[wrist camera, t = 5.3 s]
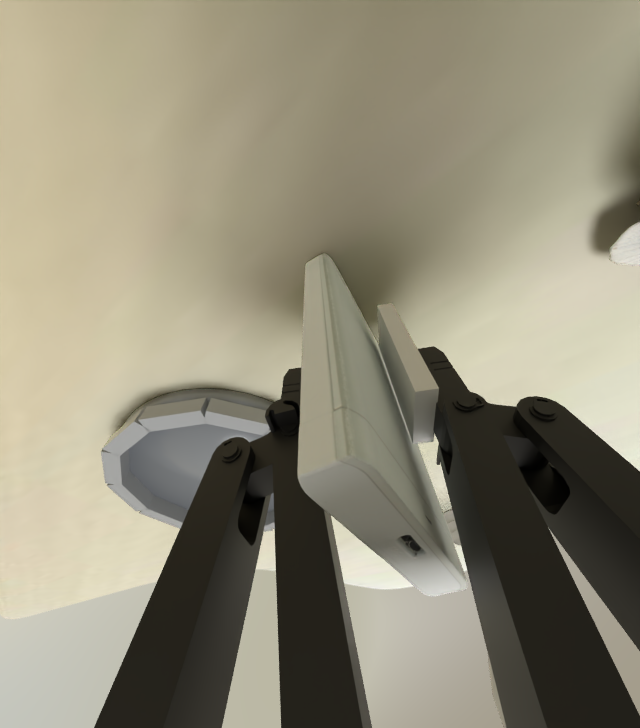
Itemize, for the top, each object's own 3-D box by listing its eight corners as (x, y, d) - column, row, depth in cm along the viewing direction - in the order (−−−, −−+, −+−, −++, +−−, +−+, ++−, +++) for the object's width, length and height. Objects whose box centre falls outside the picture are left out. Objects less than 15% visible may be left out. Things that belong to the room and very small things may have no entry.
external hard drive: (328, 248, 14) (364, 452, 5) (387, 359, 19) (473, 590, 9) (301, 264, 15) (281, 482, 5) (365, 369, 19) (423, 599, 9)
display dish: (72, 407, 20) (47, 433, 19) (300, 371, 19) (299, 395, 17) (179, 517, 30) (171, 541, 28) (334, 499, 29) (336, 523, 27)
